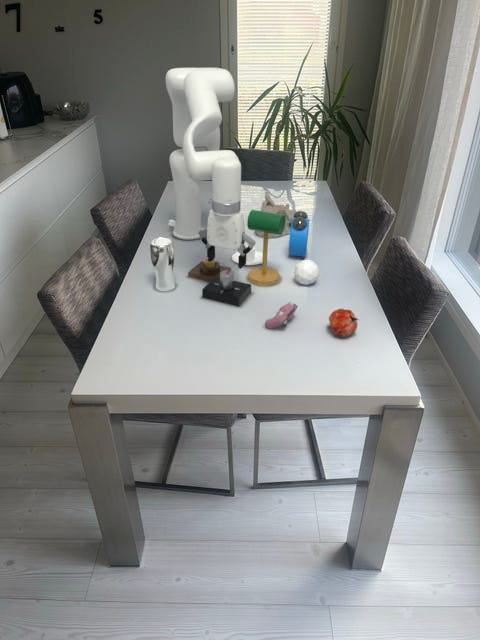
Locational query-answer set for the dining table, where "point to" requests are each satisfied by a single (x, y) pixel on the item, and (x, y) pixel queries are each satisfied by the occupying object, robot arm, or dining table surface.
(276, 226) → the desk lamp
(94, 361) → the dining table surface
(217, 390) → the dining table surface
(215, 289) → the dimmer panel
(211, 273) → the switch block
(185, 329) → the dining table surface
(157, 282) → the beer glass
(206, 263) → the button
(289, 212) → the ceramic cottage
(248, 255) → the candle holder
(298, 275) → the geometric ball
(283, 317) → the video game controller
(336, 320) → the pomegranate
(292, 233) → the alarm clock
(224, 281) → the dimmer knob
